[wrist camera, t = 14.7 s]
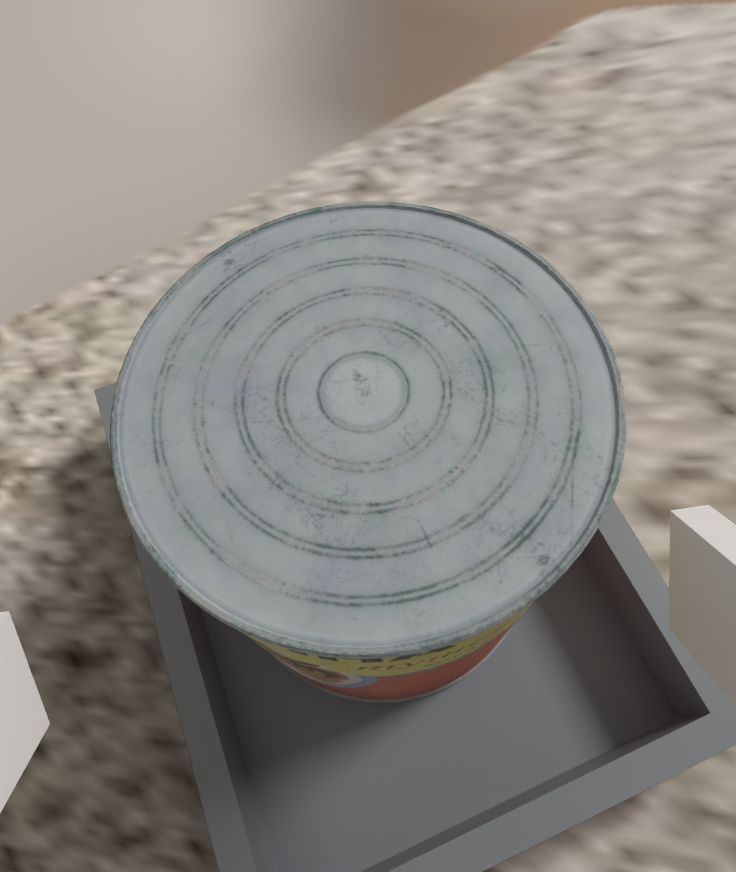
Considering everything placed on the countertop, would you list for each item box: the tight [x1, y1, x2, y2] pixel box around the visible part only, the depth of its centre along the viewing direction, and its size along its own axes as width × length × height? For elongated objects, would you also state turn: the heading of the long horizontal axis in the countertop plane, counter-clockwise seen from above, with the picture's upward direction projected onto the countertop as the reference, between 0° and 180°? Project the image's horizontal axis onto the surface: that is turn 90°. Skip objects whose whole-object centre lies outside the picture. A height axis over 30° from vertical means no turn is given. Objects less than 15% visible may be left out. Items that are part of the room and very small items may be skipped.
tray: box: [95, 383, 736, 872], centre depth 24 cm, size 16×20×4 cm
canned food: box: [110, 202, 626, 703], centre depth 20 cm, size 11×11×12 cm
